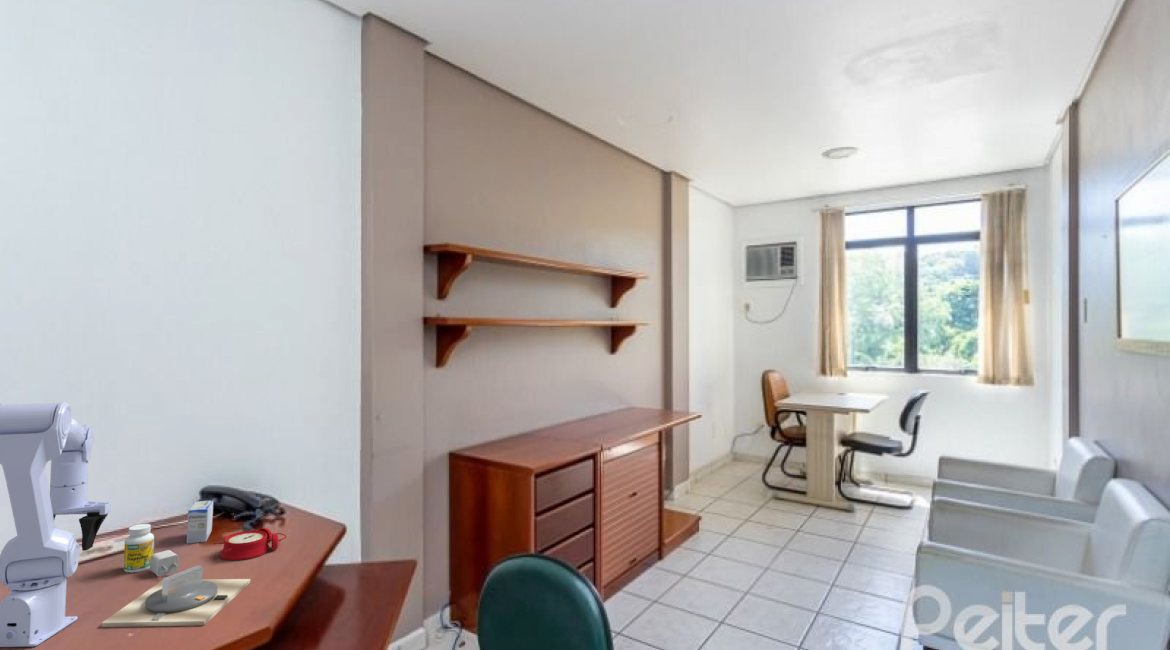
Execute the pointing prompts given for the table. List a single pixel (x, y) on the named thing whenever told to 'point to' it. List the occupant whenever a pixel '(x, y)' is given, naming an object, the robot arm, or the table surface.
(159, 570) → the usb wall charger
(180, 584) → the twist dial
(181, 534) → the table surface
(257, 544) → the alarm clock
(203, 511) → the medicine box
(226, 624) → the table surface
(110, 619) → the plate
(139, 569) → the supplement bottle
